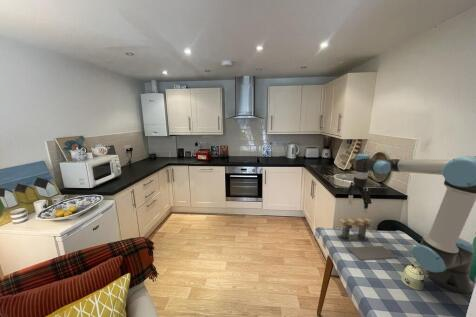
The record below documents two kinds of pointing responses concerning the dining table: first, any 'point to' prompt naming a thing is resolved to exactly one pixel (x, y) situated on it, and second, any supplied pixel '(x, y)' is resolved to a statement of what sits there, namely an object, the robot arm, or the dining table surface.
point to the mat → (372, 253)
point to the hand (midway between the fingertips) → (356, 208)
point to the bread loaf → (354, 222)
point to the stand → (351, 237)
